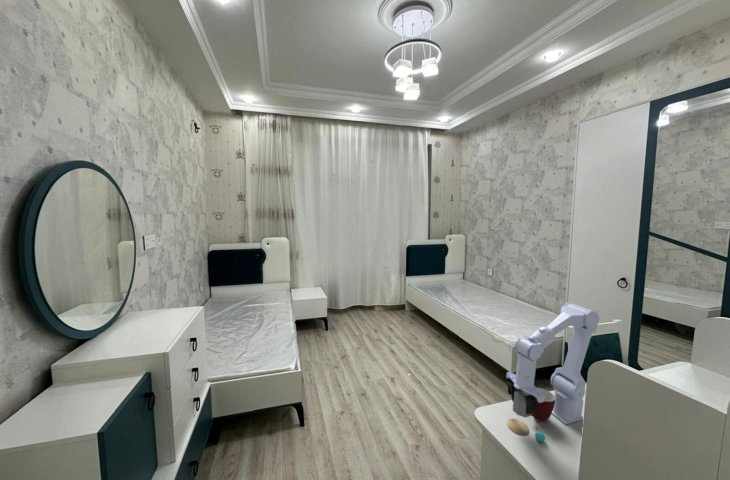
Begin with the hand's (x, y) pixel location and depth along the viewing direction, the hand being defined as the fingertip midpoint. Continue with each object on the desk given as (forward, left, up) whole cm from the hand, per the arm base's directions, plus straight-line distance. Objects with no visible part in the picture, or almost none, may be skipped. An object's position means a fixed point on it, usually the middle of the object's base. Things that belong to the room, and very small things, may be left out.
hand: (521, 407), depth 104 cm
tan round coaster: (0, -1, -9) cm, 9 cm away
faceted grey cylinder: (0, 0, -2) cm, 2 cm away
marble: (-2, +6, -9) cm, 11 cm away
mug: (-10, -1, -9) cm, 14 cm away
